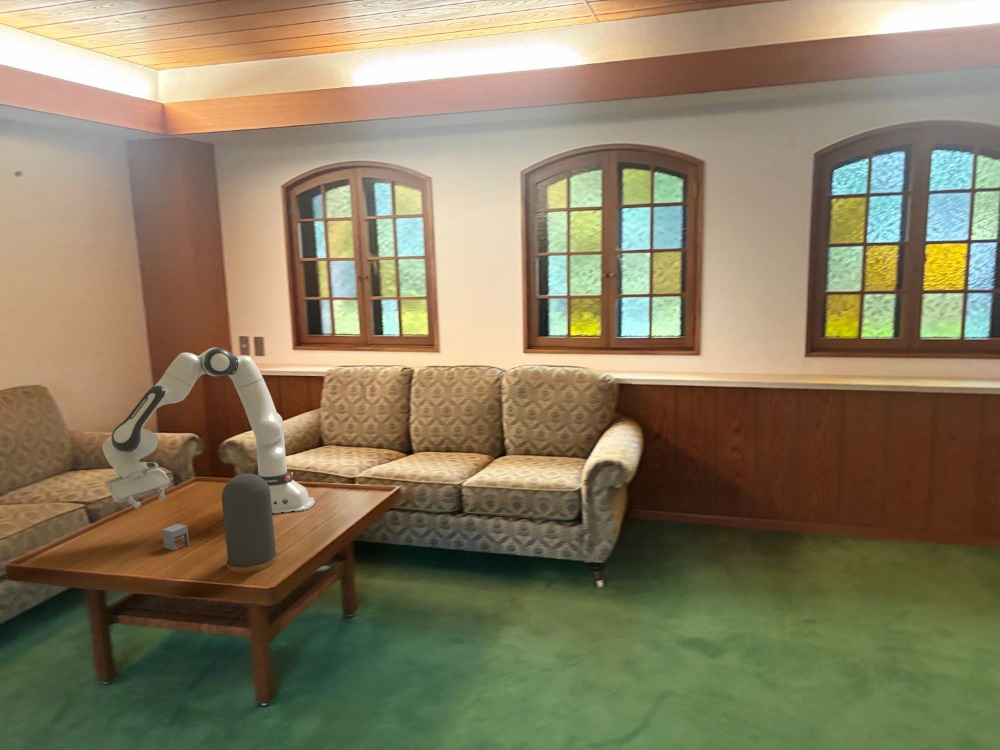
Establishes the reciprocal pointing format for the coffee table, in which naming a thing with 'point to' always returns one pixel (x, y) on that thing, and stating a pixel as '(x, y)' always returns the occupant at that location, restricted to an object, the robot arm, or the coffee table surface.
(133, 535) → the coffee table surface
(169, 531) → the slate cover
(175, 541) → the letter cube
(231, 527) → the decorative piece
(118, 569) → the coffee table surface
